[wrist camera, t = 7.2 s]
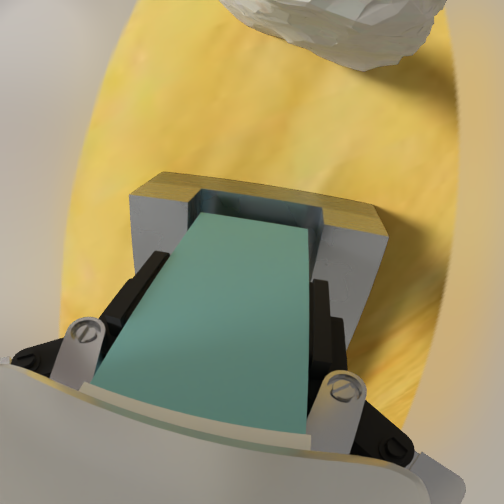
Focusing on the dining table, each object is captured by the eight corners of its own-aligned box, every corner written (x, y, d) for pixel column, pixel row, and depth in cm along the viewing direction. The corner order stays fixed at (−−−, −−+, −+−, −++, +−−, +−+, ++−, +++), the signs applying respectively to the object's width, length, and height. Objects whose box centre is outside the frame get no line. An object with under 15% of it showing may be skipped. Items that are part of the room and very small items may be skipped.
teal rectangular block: (297, 284, 16) (280, 502, 7) (197, 266, 16) (105, 459, 7) (310, 227, 14) (309, 467, 5) (198, 210, 15) (69, 407, 5)
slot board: (305, 399, 26) (303, 437, 22) (172, 373, 27) (158, 408, 23) (372, 204, 17) (389, 236, 13) (162, 171, 18) (129, 194, 14)
